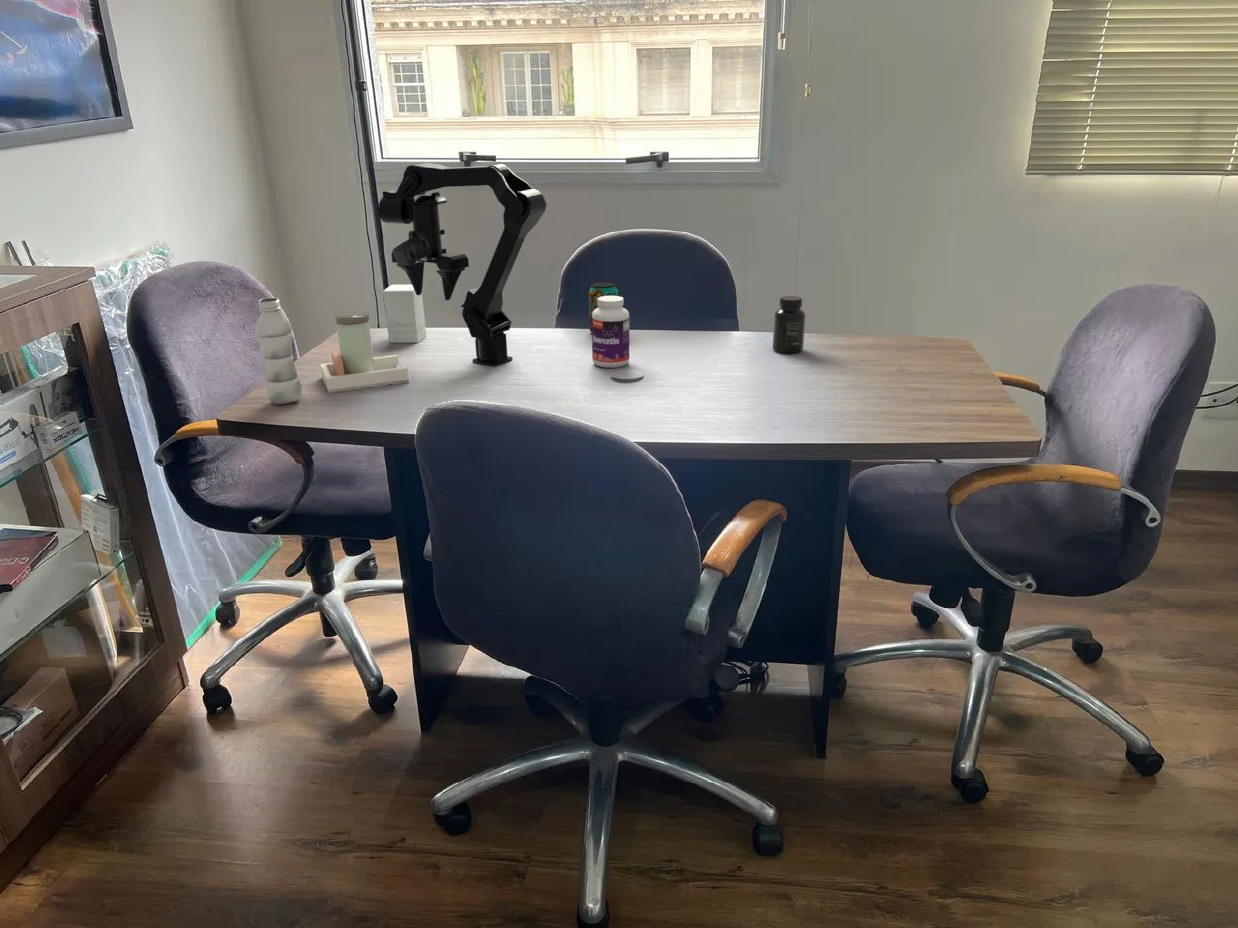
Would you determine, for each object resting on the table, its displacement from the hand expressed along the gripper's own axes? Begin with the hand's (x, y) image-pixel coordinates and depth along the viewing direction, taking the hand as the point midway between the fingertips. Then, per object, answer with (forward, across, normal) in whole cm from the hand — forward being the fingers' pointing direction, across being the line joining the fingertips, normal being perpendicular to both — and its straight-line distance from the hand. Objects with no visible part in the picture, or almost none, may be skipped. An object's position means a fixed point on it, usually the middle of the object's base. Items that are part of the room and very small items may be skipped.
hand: (433, 297), depth 197 cm
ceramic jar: (+12, +1, -23) cm, 26 cm away
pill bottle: (+13, +37, +16) cm, 42 cm away
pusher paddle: (+12, -1, -26) cm, 29 cm away
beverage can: (+13, +20, +36) cm, 43 cm away
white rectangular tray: (+13, +2, -22) cm, 26 cm away
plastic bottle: (+13, 0, -40) cm, 42 cm away
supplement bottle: (+13, +64, +47) cm, 80 cm away
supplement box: (+13, -16, +5) cm, 21 cm away
